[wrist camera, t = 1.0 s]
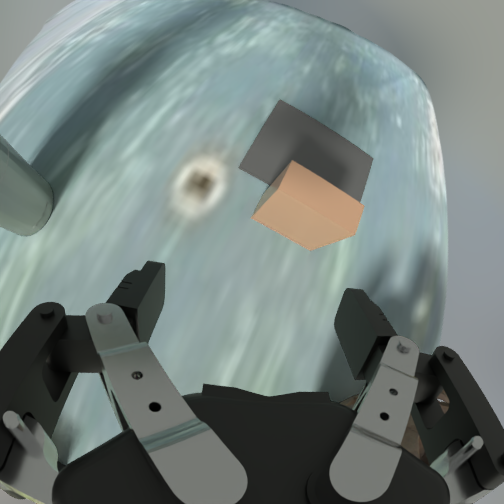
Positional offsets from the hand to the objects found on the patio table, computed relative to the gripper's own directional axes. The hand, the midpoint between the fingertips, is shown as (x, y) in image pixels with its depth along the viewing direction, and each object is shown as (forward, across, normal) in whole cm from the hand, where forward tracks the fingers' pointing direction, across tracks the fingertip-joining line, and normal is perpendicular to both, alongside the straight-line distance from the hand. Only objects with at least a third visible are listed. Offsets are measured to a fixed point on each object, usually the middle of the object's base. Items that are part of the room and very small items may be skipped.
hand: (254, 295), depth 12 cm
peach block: (+30, -6, +5) cm, 31 cm away
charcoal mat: (+36, -10, -4) cm, 38 cm away
